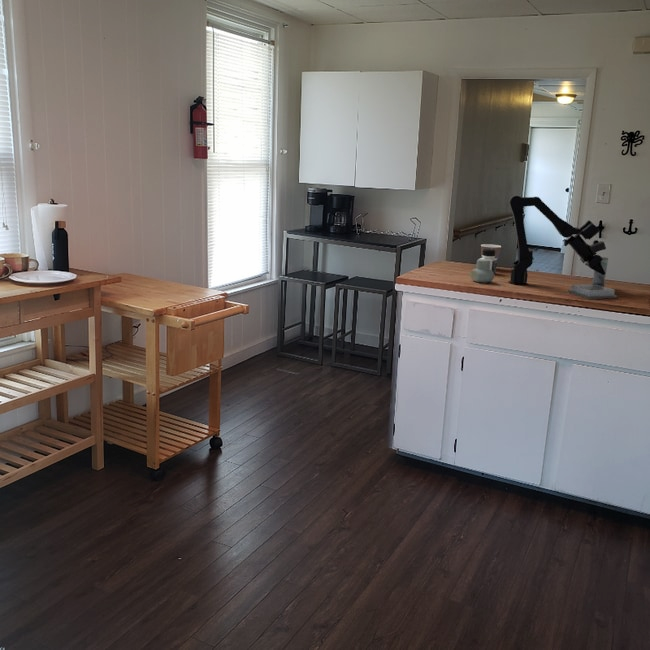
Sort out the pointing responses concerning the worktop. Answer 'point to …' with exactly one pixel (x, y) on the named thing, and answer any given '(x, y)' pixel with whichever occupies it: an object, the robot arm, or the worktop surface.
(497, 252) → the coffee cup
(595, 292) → the metal stand
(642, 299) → the worktop surface
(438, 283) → the worktop surface
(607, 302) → the worktop surface
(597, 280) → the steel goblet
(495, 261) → the medicine bottle
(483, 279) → the air freshener
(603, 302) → the worktop surface
